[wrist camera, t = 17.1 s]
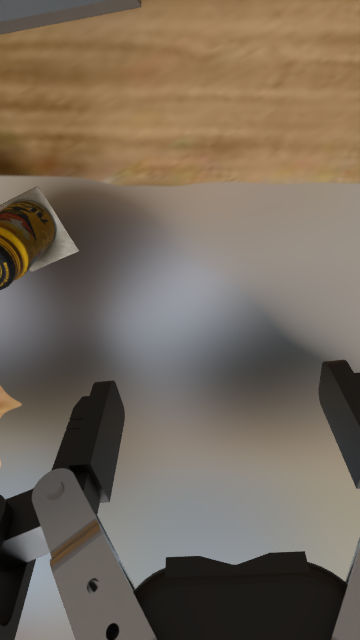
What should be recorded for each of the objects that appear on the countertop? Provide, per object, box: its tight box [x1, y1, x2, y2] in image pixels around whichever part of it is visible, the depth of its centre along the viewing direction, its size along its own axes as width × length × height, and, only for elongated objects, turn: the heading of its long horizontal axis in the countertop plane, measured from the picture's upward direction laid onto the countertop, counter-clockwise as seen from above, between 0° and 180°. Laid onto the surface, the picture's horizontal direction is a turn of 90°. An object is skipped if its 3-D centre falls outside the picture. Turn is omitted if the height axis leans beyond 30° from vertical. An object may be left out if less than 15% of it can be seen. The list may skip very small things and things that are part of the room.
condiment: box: [0, 187, 79, 290], centre depth 36 cm, size 7×8×12 cm
